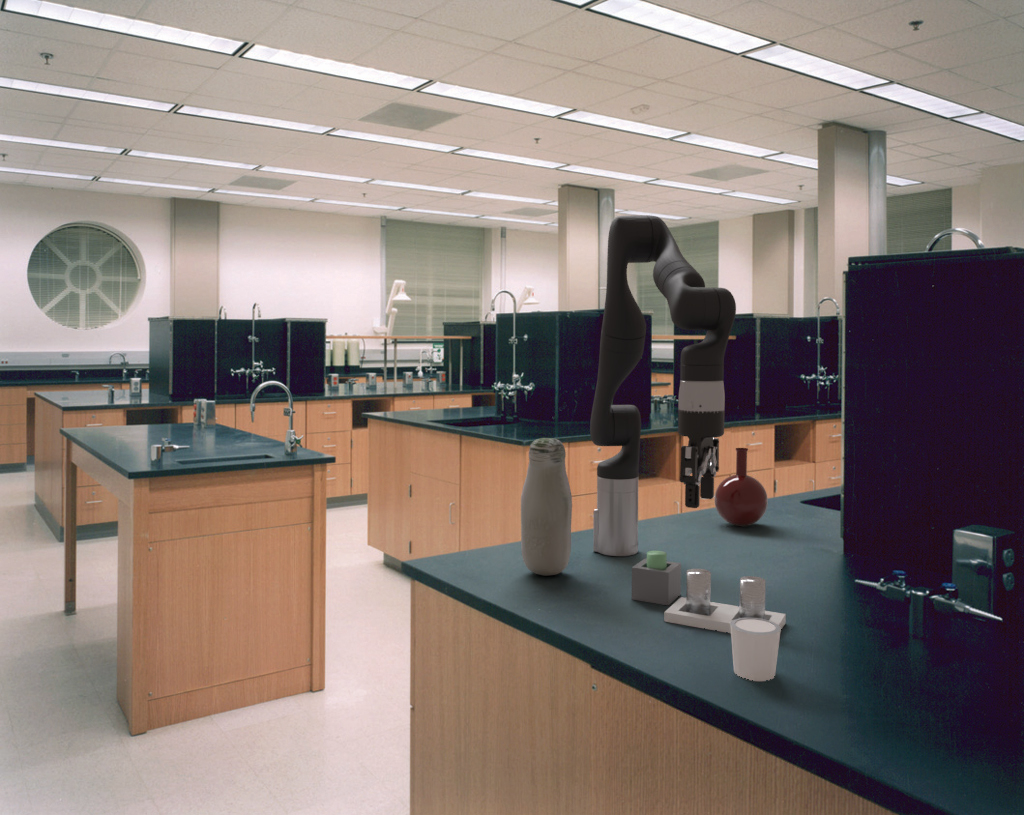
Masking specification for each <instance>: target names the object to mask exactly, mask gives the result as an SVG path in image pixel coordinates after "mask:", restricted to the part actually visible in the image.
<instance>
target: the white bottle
mask: <svg viewBox="0 0 1024 815" xmlns="http://www.w3.org/2000/svg"><path fill="white" fill-rule="evenodd" d="M529 446H530V447H529V449H528V460H529V462H528V466H527V470H526V476H525V480H524V483H523V487H522V490H521V495H520V536H521V537H520V538H521V539H520V543H521V545H520V546H521V547H520V548H521V556H522V560H523V561H522V562H523V563H524V566H525V567H526V568H527V569H528V570H529V571H530V572H532V573H533V574H536V575H540V576H545V577H547V576H554V575H558V574H560V573H562V572H563V571H564V570H565V569H566V568H567V567H568V564H569V561H570V557H571V552H572V550H571V549H572V514H573V513H572V511H573V497H572V496H573V495H572V492H571V486H570V481H569V478H568V474H567V470H566V469H567V468H566V455H567V452H566V449H565V445H564V444H563V442H562V441H561V440H559V439H557V438H552V437H540V438H537V439H534V440H533V441H532V442H531V443H530V445H529Z"/></svg>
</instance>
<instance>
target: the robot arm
mask: <svg viewBox="0 0 1024 815" xmlns="http://www.w3.org/2000/svg"><path fill="white" fill-rule="evenodd" d="M607 237H608V238H607V239H608V240H607V257H606V258H607V259H606V260H607V262H606V264H607V265H606V267H607V268H606V286H605V287H606V289H605V301H604V307H603V308H604V311H603V317H602V318H603V319H602V325H601V332H600V344H599V355H598V356H599V357H598V358H599V359H598V370H597V371H598V372H597V379H596V380H597V381H596V387H595V393H594V398H593V402H592V403H593V404H592V408H591V414H590V423H589V424H590V425H589V433H590V438H591V441H592V443H593V444H594V445H595V446H597V447H621V449H620V451H618V453H617V454H615V455H613V456H612V457H609V458H607V459H605V460H602V461H600V462H599V463H598V464H597V466H596V508H595V509H593V515H592V516H593V518H592V519H593V531H592V532H593V533H592V535H593V536H592V538H593V546H592V548H593V552H595V553H599V554H601V555H605V556H611V557H627V556H628V557H629V556H633V555H636V554H637V553H638V551H639V466H640V450H641V448H640V446H641V436H642V435H641V431H642V419H641V418H642V417H641V413H640V410H639V408H638V407H637V406H636V405H634V404H612V403H613V400H614V399H615V398H614V397H615V395H616V392H618V389H619V388H620V387H621V385H622V384H623V382H624V381H625V380H626V379H627V378H628V376H629V375H630V374H631V373H632V371H633V370H634V369H635V368H636V367H637V365H638V363H639V362H640V360H641V359H642V357H643V354H644V350H645V349H644V347H645V341H646V333H647V322H646V320H645V317H644V314H643V312H642V310H641V308H640V306H639V304H638V303H637V301H636V299H635V297H634V295H633V293H632V292H631V291H632V290H631V289H630V286H629V281H628V264H640V263H643V264H644V263H645V264H647V263H652V262H655V263H654V267H653V270H652V272H653V273H652V277H653V281H654V284H655V287H656V288H657V289H658V291H659V292H660V293H661V294H662V296H663V297H664V298H665V299H666V302H667V305H668V308H669V313H670V318H671V321H672V323H673V324H674V325H675V326H677V327H678V328H680V329H681V330H686V331H706V335H705V336H704V338H703V340H702V341H701V342H698V343H694V344H690V345H687V346H684V347H683V348H682V350H681V352H680V376H679V377H680V380H679V390H678V416H677V417H678V418H677V420H678V421H677V422H678V423H677V427H678V428H677V432H678V434H679V436H682V437H687V438H688V443H687V445H681V447H680V472H679V473H680V474H679V475H680V476H679V482H680V483H682V484H683V485H685V486H684V487H685V490H684V505H685V507H686V508H688V509H689V508H691V509H697V508H699V507H700V501H701V500H700V498H701V499H702V500H703V499H705V500H712V499H714V498H715V478H716V476H717V473H718V472H719V470H720V439H719V438H720V437H722V436H724V434H725V408H726V407H725V405H726V404H725V401H726V399H725V398H726V396H725V385H724V374H725V373H724V372H725V367H724V364H725V363H724V362H725V361H724V358H725V353H726V349H727V345H728V342H729V339H730V334H731V331H732V329H733V325H734V323H735V318H736V313H737V303H736V300H735V297H734V295H733V294H732V292H731V291H730V290H728V289H727V288H724V287H706V283H705V281H704V278H703V276H701V274H700V273H699V271H698V270H696V269H695V267H693V266H692V265H691V264H690V262H689V261H687V259H686V258H685V256H684V255H683V254H682V251H681V250H680V248H679V246H678V244H677V242H676V240H675V238H674V237H673V234H672V233H671V231H670V229H669V227H668V225H667V224H666V222H665V221H664V220H663V219H662V218H660V217H659V216H656V215H650V214H649V215H647V214H646V215H643V214H642V215H637V214H636V215H634V214H633V215H616V216H615V217H614V218H613V219H612V221H611V223H610V226H609V230H608V236H607Z"/></svg>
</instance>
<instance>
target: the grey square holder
mask: <svg viewBox="0 0 1024 815" xmlns="http://www.w3.org/2000/svg"><path fill="white" fill-rule="evenodd" d="M681 579H682V563H681V562H677V561H676V562H675V561H668V560H667V568H666V569H665V570H661V569H654V568H647V557H646V558H643V559H642V560H641V561H639V562H637V563H635V565H634V566H632V567H631V600H633V601H639V602H640V601H641V602H645V603H650V604H657V605H663V606H670V605H672V604H671V603H673V602H674V601H675V600H676V599H677V598H678V596H679V597H680V596H681V595H682V594H681V593H682V592H681V591H682V587H681V585H682V583H681V582H682V580H681Z"/></svg>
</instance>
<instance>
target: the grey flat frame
mask: <svg viewBox="0 0 1024 815" xmlns="http://www.w3.org/2000/svg"><path fill="white" fill-rule="evenodd" d="M739 613H740V605H739V606H738V605H732V604H726V603H719V602H713V601H710V616H706V615H700V614H694V613H688V612H686V597H684V596H681V597H679V598H678V599H677V600H676V601H675V602H674V603H673V604H671V606H669V607H668V608H667V609H666V610H665V611H664V613H663V614H664V615H663V616H664V617H663V618H664V619H663V620H664V621H663V622H667V623H672V624H676V625H677V624H678V625H682V626H688V627H694V628H699V629H704V628H705V630H711V631H715V630H717V631H716V632H721V633H726V632H728V633H727V634H731V627H730V623H731V622H732V621H733V620H735V619H738V618H739ZM786 616H787V614H786V613H782V612H781V613H780V612H775V611H769V610H765V620H768V621H772V622H774V623H776V624H778V625H779V626H780V628H781V629H782V630H783V628H784V626H785V625H786V619H787V617H786Z"/></svg>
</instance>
